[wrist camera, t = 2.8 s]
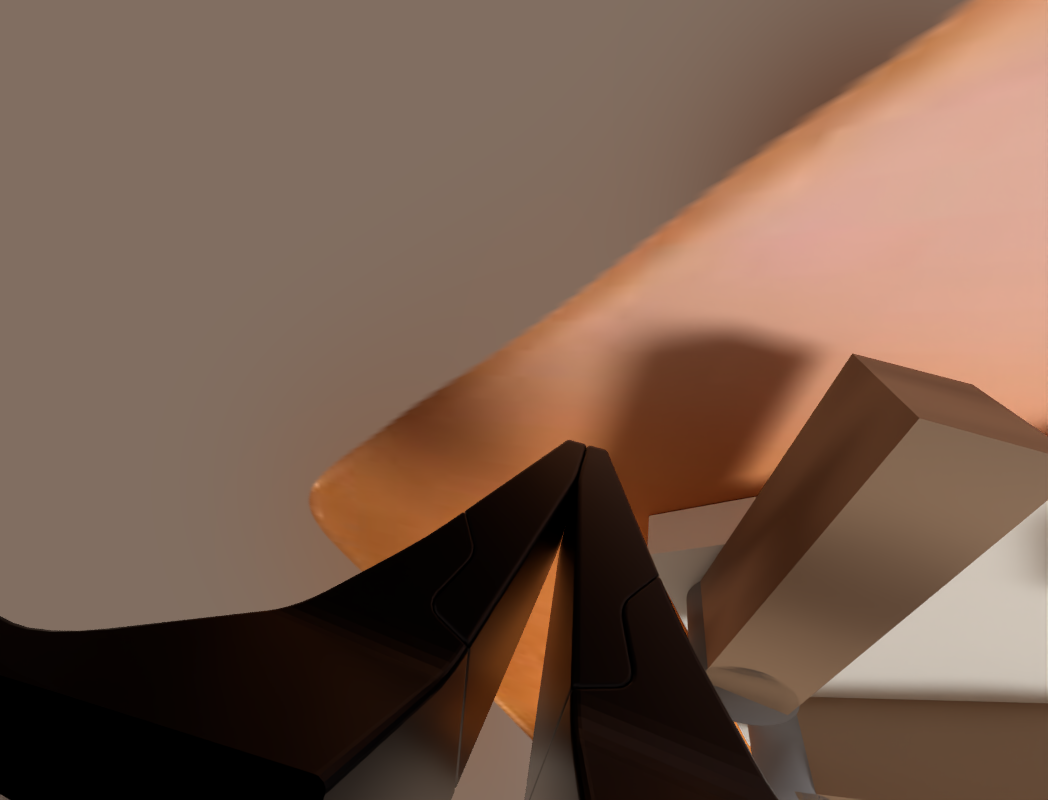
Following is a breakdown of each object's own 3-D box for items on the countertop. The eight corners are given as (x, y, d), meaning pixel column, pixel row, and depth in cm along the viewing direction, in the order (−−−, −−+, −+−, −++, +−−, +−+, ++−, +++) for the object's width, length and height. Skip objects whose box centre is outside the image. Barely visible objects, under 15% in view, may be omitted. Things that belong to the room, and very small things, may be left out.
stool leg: (752, 641, 15) (769, 737, 12) (674, 612, 15) (676, 697, 13) (980, 386, 9) (1100, 468, 7) (845, 351, 9) (909, 415, 7)
